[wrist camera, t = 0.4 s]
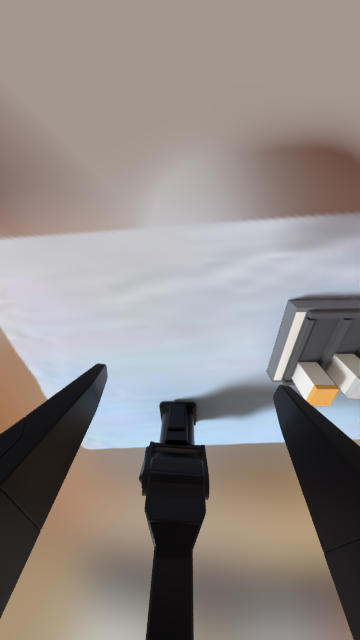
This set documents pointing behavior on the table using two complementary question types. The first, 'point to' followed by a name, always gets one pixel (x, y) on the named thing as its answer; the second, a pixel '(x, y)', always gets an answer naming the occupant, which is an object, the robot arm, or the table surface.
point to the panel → (314, 335)
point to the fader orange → (314, 384)
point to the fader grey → (346, 374)
